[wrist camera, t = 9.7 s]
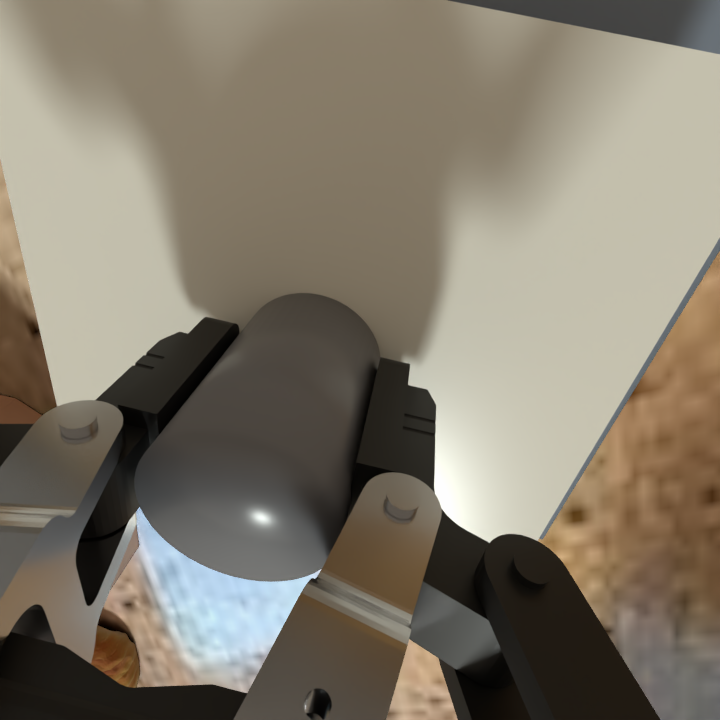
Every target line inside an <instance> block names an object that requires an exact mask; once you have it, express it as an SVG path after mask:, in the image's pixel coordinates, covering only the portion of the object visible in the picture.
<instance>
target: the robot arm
mask: <svg viewBox="0 0 720 720" xmlns="http://www.w3.org/2000/svg"><path fill="white" fill-rule="evenodd" d="M238 335H239V326H238V325H237V324H236V323H232V322H227V321H223V320H219V319H214V318H210V317H205V318H203V319H202V320H201V321H200V322H199V323H198V324H197V325H196V326H195V327H194V328H193V329H192V330H191V331H190V332H189V333H188V334H187V333H183V332H178V333H175V334H173V335H171V336H168V337H166V338H164V339H161V340H159V341H158V342H157V343H156V344H155V345H154V346H153V347H152V348H151V349H150V350H149V351H147V352H146V355H143V356H142V357H141V358H140V359H139V360H138V361H137V362H136V363H135V366H133V365H132V366H131V367H130V368H129V369H128V370H127V371H126V372H125V373H124V374H123V375H122V376H121V377H120V378H118V379H117V380H116V381H115V382H114V383H113V384H112V385H111V386H110V387H109V388H108V389H107V390H106V391H104V392H103V393H102V394H101V395H100V396H99V397H98V398H97V399H96V400H81V401H74V402H70V403H66V404H63V405H60V406H57V407H55V408H53V409H51V410H49V411H48V412H46V413H45V414H43V415H42V416H41V417H40V418H39V419H38V420H37V421H36V422H35V423H34V424H0V720H386V718H387V715H388V711H389V708H390V704H391V701H392V697H393V694H394V690H395V687H396V683H397V680H398V676H399V673H400V669H401V666H402V662H403V659H404V655H405V652H406V648H407V645H408V641H409V639H410V640H412V641H413V642H415V643H416V644H418V645H419V646H421V647H423V648H424V649H426V650H427V651H429V652H430V653H432V654H433V655H435V656H436V657H438V658H439V661H440V665H441V668H442V672H443V675H444V678H445V681H446V684H447V687H448V690H449V693H450V696H451V699H452V702H453V705H454V709H455V712H456V715H457V718H458V720H660V718H659V717H658V715H657V714H656V712H655V710H654V709H653V707H652V705H651V704H650V702H649V701H648V699H647V697H646V696H645V694H644V693H643V691H642V689H641V688H640V686H639V684H638V683H637V681H636V680H635V678H634V676H633V675H632V673H631V672H630V670H629V668H628V667H627V665H626V663H625V662H624V660H623V659H622V657H621V655H620V654H619V652H618V651H617V649H616V647H615V646H614V644H613V642H612V641H611V639H610V638H609V636H608V634H607V633H606V631H605V630H604V628H603V626H602V625H601V623H600V621H599V620H598V618H597V617H596V615H595V613H594V612H593V610H592V609H591V607H590V605H589V604H588V602H587V600H586V599H585V597H584V596H583V594H582V592H581V591H580V589H579V588H578V586H577V584H576V583H575V581H574V579H573V578H572V576H571V575H570V573H569V571H568V570H567V568H566V567H565V565H564V564H563V562H562V561H561V560H560V559H559V558H558V557H557V555H556V554H554V553H553V552H552V551H551V550H550V549H549V548H547V547H546V546H545V545H543V544H542V543H540V542H538V541H536V540H534V539H532V538H529V537H527V536H523V535H518V534H505V535H501V536H498V537H496V538H494V539H493V540H492V541H491V542H490V543H489V542H487V541H485V540H484V539H482V538H480V537H478V536H476V535H474V534H472V533H471V532H469V531H467V530H465V529H464V528H462V527H460V526H459V525H457V524H456V523H455V522H454V521H452V520H451V519H450V518H449V517H448V516H447V515H446V513H445V512H444V511H443V510H442V508H441V505H440V502H439V500H438V498H437V496H436V495H435V490H434V475H435V434H436V424H435V422H436V404H435V402H434V400H433V398H432V397H431V395H430V393H429V391H428V390H427V389H423V388H419V387H414V386H410V385H408V380H409V371H410V364H409V363H404V362H400V361H395V360H391V359H387V358H382V357H380V361H379V365H378V369H377V374H376V378H375V382H374V387H373V391H372V396H371V400H370V404H369V409H368V413H367V418H366V422H365V426H364V431H363V435H362V439H361V444H360V448H359V453H358V457H357V461H356V466H355V470H354V475H353V479H352V483H351V503H350V509H349V513H348V518H347V521H346V523H345V525H344V527H343V529H342V531H341V533H340V535H339V537H338V539H337V541H336V543H335V544H334V546H333V548H332V550H331V552H330V554H329V556H328V558H327V560H326V562H325V564H324V566H323V568H322V570H321V571H320V573H319V575H318V576H317V578H316V579H313V578H312V579H311V580H310V581H309V582H308V583H307V584H306V586H305V587H304V589H303V591H302V592H301V594H300V596H299V598H298V600H297V601H296V603H295V605H294V607H293V609H292V611H291V613H290V615H289V616H288V618H287V620H286V622H285V624H284V626H283V628H282V630H281V631H280V633H279V635H278V637H277V639H276V641H275V643H274V645H273V646H272V648H271V650H270V652H269V654H268V656H267V658H266V660H265V661H264V663H263V665H262V667H261V669H260V671H259V673H258V674H257V676H256V678H255V680H254V682H253V684H252V686H251V688H250V689H249V691H248V693H243V692H239V691H235V690H231V689H227V688H224V687H220V686H216V685H188V686H164V687H139V688H132V687H126V686H123V685H121V684H119V683H118V682H116V681H115V680H113V679H112V678H111V677H109V676H108V675H106V674H105V673H103V672H102V671H100V670H99V669H97V668H96V667H95V666H93V665H92V664H91V662H92V658H93V653H94V648H95V640H96V630H97V625H98V621H99V617H100V614H101V611H102V609H103V606H104V604H105V601H106V599H107V596H108V594H109V591H110V589H111V586H112V584H113V581H114V579H115V576H116V574H117V571H118V569H119V566H120V564H121V562H122V559H123V557H124V554H125V552H126V549H127V547H128V544H129V542H130V539H131V537H132V534H133V532H134V529H135V526H136V521H137V518H136V511H137V509H138V508H139V507H140V505H139V503H138V500H137V497H136V492H135V483H134V478H135V472H136V468H137V466H138V463H139V461H140V459H141V458H142V456H143V455H144V453H145V452H146V451H147V450H148V448H149V447H150V446H151V445H152V443H153V442H154V441H155V440H156V438H157V437H158V436H159V434H160V433H161V432H162V431H163V429H164V428H165V427H166V426H167V424H168V423H169V422H170V421H171V419H172V418H173V417H174V416H175V414H176V413H177V412H178V411H179V409H180V408H181V407H182V406H183V404H184V403H185V402H186V401H187V399H188V398H189V397H190V395H191V394H192V393H193V392H194V390H195V389H196V388H197V387H198V385H199V384H200V383H201V382H202V380H203V379H204V378H205V377H206V375H207V374H208V373H209V372H210V370H211V369H212V368H213V367H214V365H215V364H216V363H217V362H218V360H219V359H220V358H221V356H222V355H223V354H224V353H225V351H226V350H227V349H228V348H229V346H230V345H231V344H232V343H233V341H234V340H235V339H236V338H237V336H238Z"/></svg>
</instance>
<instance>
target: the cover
mask: <svg viewBox="0 0 720 720" xmlns="http://www.w3.org/2000/svg"><path fill="white" fill-rule="evenodd" d="M0 160H1V164H2V168H3V173H4V177H5V181H6V186H7V190H8V194H9V199H10V203H11V208H12V212H13V216H14V221H15V225H16V229H17V234H18V238H19V242H20V247H21V251H22V255H23V260H24V264H25V269H26V273H27V277H28V282H29V286H30V290H31V295H32V299H33V303H34V308H35V312H36V317H37V321H38V325H39V330H40V334H41V338H42V343H43V347H44V351H45V356H46V360H47V365H48V369H49V373H50V378H51V382H52V386H53V391H54V395H55V399H56V404H57V406H60V405H63V404H66V403H70V402H74V401H81V400H96V399H97V398H98V397H99V396H100V395H101V394H102V393H103V392H104V391H106V390H107V389H108V388H109V387H110V386H111V385H112V384H113V383H114V382H115V381H116V380H117V379H118V378H120V377H121V376H122V375H123V374H124V373H125V372H126V371H127V370H128V369H129V368H130V367H131V366H132V365H133V366H135V363H136V362H137V361H138V360H139V359H140V358H141V357H142V356H143V355H146V352H147V351H149V350H150V349H151V348H152V347H153V346H154V345H155V344H156V343H157V342H158V341H159V340H161V339H164V338H166V337H168V336H171V335H173V334H175V333H178V332H183V333H187V334H188V333H189V332H190V331H191V330H192V329H193V328H194V327H195V326H196V325H197V324H198V323H199V322H200V321H201V320H202V319H203V318H205V317H210V318H214V319H219V320H223V321H227V322H232V323H236V324H237V325H238V326H239V335H238V336H237V338H236V339H235V340H234V341H233V343H232V344H231V345H230V346H229V348H228V349H227V350H226V351H225V353H224V354H223V355H222V356H221V358H220V359H219V360H218V362H217V363H216V364H215V365H214V367H213V368H212V369H211V370H210V372H209V373H208V374H207V375H206V377H205V378H204V379H203V380H202V382H201V383H200V384H199V385H198V387H197V388H196V389H195V390H194V392H193V393H192V394H191V395H190V397H189V398H188V399H187V401H186V402H185V403H184V404H183V406H182V407H181V408H180V409H179V411H178V412H177V413H176V414H175V416H174V417H173V418H172V419H171V421H170V422H169V423H168V424H167V426H166V427H165V428H164V429H163V431H162V432H161V433H160V434H159V436H158V437H157V438H156V440H155V441H154V442H153V443H152V445H151V446H150V447H149V448H148V450H147V451H146V452H145V453H144V455H143V456H142V458H141V459H140V461H139V463H138V466H137V468H136V472H135V478H134V483H135V492H136V497H137V500H138V503H139V505H140V508H141V510H142V512H143V513H144V515H145V517H146V519H147V520H148V521H149V523H150V524H151V526H152V527H153V528H154V529H155V530H156V531H157V532H158V534H159V535H160V536H161V537H162V538H164V539H165V540H166V541H167V542H168V543H169V544H170V545H172V546H173V547H174V548H175V549H177V550H178V551H179V552H181V553H182V554H184V555H186V556H187V557H189V558H190V559H192V560H194V561H196V562H198V563H199V564H202V565H204V566H206V567H208V568H210V569H213V570H215V571H218V572H221V573H224V574H227V575H230V576H234V577H238V578H243V579H248V580H256V581H270V582H272V581H287V580H294V579H298V578H302V577H305V576H308V575H310V574H313V573H315V572H316V571H318V570H320V569H322V568H323V566H324V564H325V562H326V560H327V558H328V556H329V554H330V552H331V550H332V548H333V546H334V544H335V543H336V541H337V539H338V537H339V535H340V533H341V531H342V529H343V527H344V525H345V523H346V521H347V518H348V513H349V509H350V503H351V483H352V479H353V475H354V470H355V466H356V461H357V457H358V453H359V448H360V444H361V439H362V435H363V431H364V426H365V422H366V418H367V413H368V409H369V404H370V400H371V396H372V391H373V387H374V382H375V378H376V374H377V369H378V365H379V361H380V357H382V358H387V359H391V360H395V361H400V362H404V363H409V364H410V371H409V380H408V385H410V386H414V387H419V388H423V389H427V390H428V391H429V393H430V395H431V397H432V398H433V400H434V402H435V404H436V422H435V424H436V434H435V475H434V490H435V495H436V496H437V498H438V500H439V502H440V505H441V508H442V510H443V511H444V512H445V513H446V515H447V516H448V517H449V518H450V519H451V520H452V521H454V522H455V523H456V524H457V525H459V526H460V527H462V528H464V529H465V530H467V531H469V532H471V533H472V534H474V535H476V536H478V537H480V538H482V539H484V540H485V541H487V542H489V543H490V542H491V541H492V540H493V539H494V538H496V537H498V536H501V535H505V534H518V535H523V536H527V537H529V538H532V539H534V540H536V541H538V539H539V538H540V536H541V534H542V533H543V531H544V529H545V528H546V526H547V524H548V523H549V521H550V519H551V518H552V516H553V514H554V513H555V511H556V509H557V508H558V506H559V504H560V503H561V501H562V499H563V498H564V496H565V494H566V493H567V491H568V489H569V488H570V486H571V484H572V483H573V481H574V479H575V478H576V476H577V474H578V473H579V471H580V469H581V468H582V466H583V464H584V463H585V461H586V459H587V458H588V456H589V454H590V453H591V451H592V449H593V448H594V446H595V444H596V443H597V441H598V439H599V438H600V436H601V434H602V433H603V431H604V429H605V428H606V426H607V424H608V423H609V421H610V419H611V418H612V416H613V414H614V413H615V411H616V409H617V408H618V406H619V404H620V403H621V401H622V399H623V398H624V396H625V395H626V393H627V391H628V390H629V388H630V386H631V385H632V383H633V381H634V380H635V378H636V376H637V375H638V373H639V371H640V370H641V368H642V366H643V365H644V363H645V361H646V360H647V358H648V356H649V355H650V353H651V351H652V350H653V348H654V346H655V345H656V343H657V341H658V340H659V338H660V336H661V335H662V333H663V331H664V330H665V328H666V326H667V325H668V323H669V321H670V320H671V318H672V316H673V315H674V313H675V311H676V310H677V308H678V306H679V305H680V303H681V301H682V300H683V298H684V296H685V295H686V293H687V291H688V290H689V288H690V286H691V285H692V283H693V281H694V280H695V278H696V276H697V275H698V273H699V271H700V270H701V268H702V266H703V265H704V263H705V261H706V260H707V258H708V256H709V255H710V253H711V251H712V250H713V248H714V246H715V245H716V243H717V241H718V240H719V238H720V54H715V53H710V52H705V51H700V50H695V49H690V48H685V47H680V46H675V45H670V44H665V43H660V42H655V41H650V40H645V39H640V38H635V37H630V36H625V35H620V34H614V33H609V32H604V31H599V30H594V29H589V28H584V27H579V26H574V25H569V24H564V23H559V22H554V21H549V20H544V19H539V18H534V17H529V16H524V15H519V14H514V13H509V12H504V11H498V10H493V9H488V8H483V7H478V6H473V5H468V4H463V3H458V2H453V1H448V0H0Z"/></svg>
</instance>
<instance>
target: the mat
mask: <svg viewBox="0 0 720 720" xmlns="http://www.w3.org/2000/svg"><path fill="white" fill-rule="evenodd" d="M448 1H453V2H458V3H463V4H468V5H473V6H478V7H483V8H488V9H493V10H498V11H504V12H509V13H514V14H519V15H524V16H529V17H534V18H539V19H544V20H549V21H554V22H559V23H564V24H569V25H574V26H579V27H584V28H589V29H594V30H599V31H604V32H609V33H614V34H620V35H625V36H630V37H635V38H640V39H645V40H650V41H655V42H660V43H665V44H670V45H675V46H680V47H685V48H690V49H695V50H700V51H705V52H710V53H715V54H720V0H448ZM719 251H720V238H719V240H718V241H717V243H716V245H715V246H714V248H713V250H712V251H711V253H710V255H709V256H708V258H707V260H706V261H705V263H704V265H703V266H702V268H701V270H700V271H699V273H698V275H697V276H696V278H695V280H694V281H693V283H692V285H691V286H690V288H689V290H688V291H687V293H686V295H685V296H684V298H683V300H682V301H681V303H680V305H679V306H678V308H677V310H676V311H675V313H674V315H673V316H672V318H671V320H670V321H669V323H668V325H667V326H666V328H665V330H664V331H663V333H662V335H661V336H660V338H659V340H658V341H657V343H656V345H655V346H654V348H653V350H652V351H651V353H650V355H649V356H648V358H647V360H646V361H645V363H644V365H643V366H642V368H641V370H640V371H639V373H638V375H637V376H636V378H635V380H634V381H633V383H632V385H631V386H630V388H629V390H628V391H627V393H626V395H625V396H624V398H623V399H622V401H621V403H620V404H619V406H618V408H617V409H616V411H615V413H614V414H613V416H612V418H611V419H610V421H609V423H608V424H607V426H606V428H605V429H604V431H603V433H602V434H601V436H600V438H599V439H598V441H597V443H596V444H595V446H594V448H593V449H592V451H591V453H590V454H589V456H588V458H587V459H586V461H585V463H584V464H583V466H582V468H581V469H580V471H579V473H578V474H577V476H576V478H575V479H574V481H573V483H572V484H571V486H570V488H569V489H568V491H567V493H566V494H565V496H564V498H563V499H562V501H561V503H560V504H559V506H558V508H557V509H556V511H555V513H554V514H553V516H552V518H551V519H550V521H549V523H548V524H547V526H546V528H545V529H544V531H543V533H542V534H541V536H540V538H539V539H543V538H544V536H545V535H546V533H547V531H548V530H549V528H550V526H551V525H552V523H553V521H554V520H555V518H556V517H557V515H558V513H559V512H560V510H561V508H562V507H563V505H564V504H565V502H566V500H567V499H568V497H569V495H570V494H571V492H572V490H573V489H574V487H575V486H576V484H577V482H578V481H579V479H580V477H581V476H582V474H583V473H584V471H585V469H586V468H587V466H588V464H589V463H590V461H591V459H592V458H593V456H594V455H595V453H596V451H597V450H598V448H599V446H600V445H601V443H602V441H603V440H604V438H605V437H606V435H607V433H608V432H609V430H610V428H611V427H612V425H613V424H614V422H615V420H616V419H617V417H618V415H619V414H620V412H621V410H622V409H623V407H624V406H625V404H626V402H627V401H628V399H629V397H630V396H631V394H632V393H633V391H634V389H635V388H636V386H637V384H638V383H639V381H640V379H641V378H642V376H643V375H644V373H645V371H646V370H647V368H648V366H649V365H650V363H651V362H652V360H653V358H654V357H655V355H656V353H657V352H658V350H659V348H660V347H661V345H662V344H663V342H664V340H665V339H666V337H667V335H668V334H669V332H670V331H671V329H672V327H673V326H674V324H675V322H676V321H677V319H678V317H679V316H680V314H681V313H682V311H683V309H684V308H685V306H686V304H687V303H688V301H689V299H690V298H691V296H692V295H693V293H694V291H695V290H696V288H697V286H698V285H699V283H700V282H701V280H702V278H703V277H704V275H705V273H706V272H707V270H708V268H709V267H710V265H711V264H712V262H713V260H714V259H715V257H716V255H717V254H718V252H719Z"/></svg>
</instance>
